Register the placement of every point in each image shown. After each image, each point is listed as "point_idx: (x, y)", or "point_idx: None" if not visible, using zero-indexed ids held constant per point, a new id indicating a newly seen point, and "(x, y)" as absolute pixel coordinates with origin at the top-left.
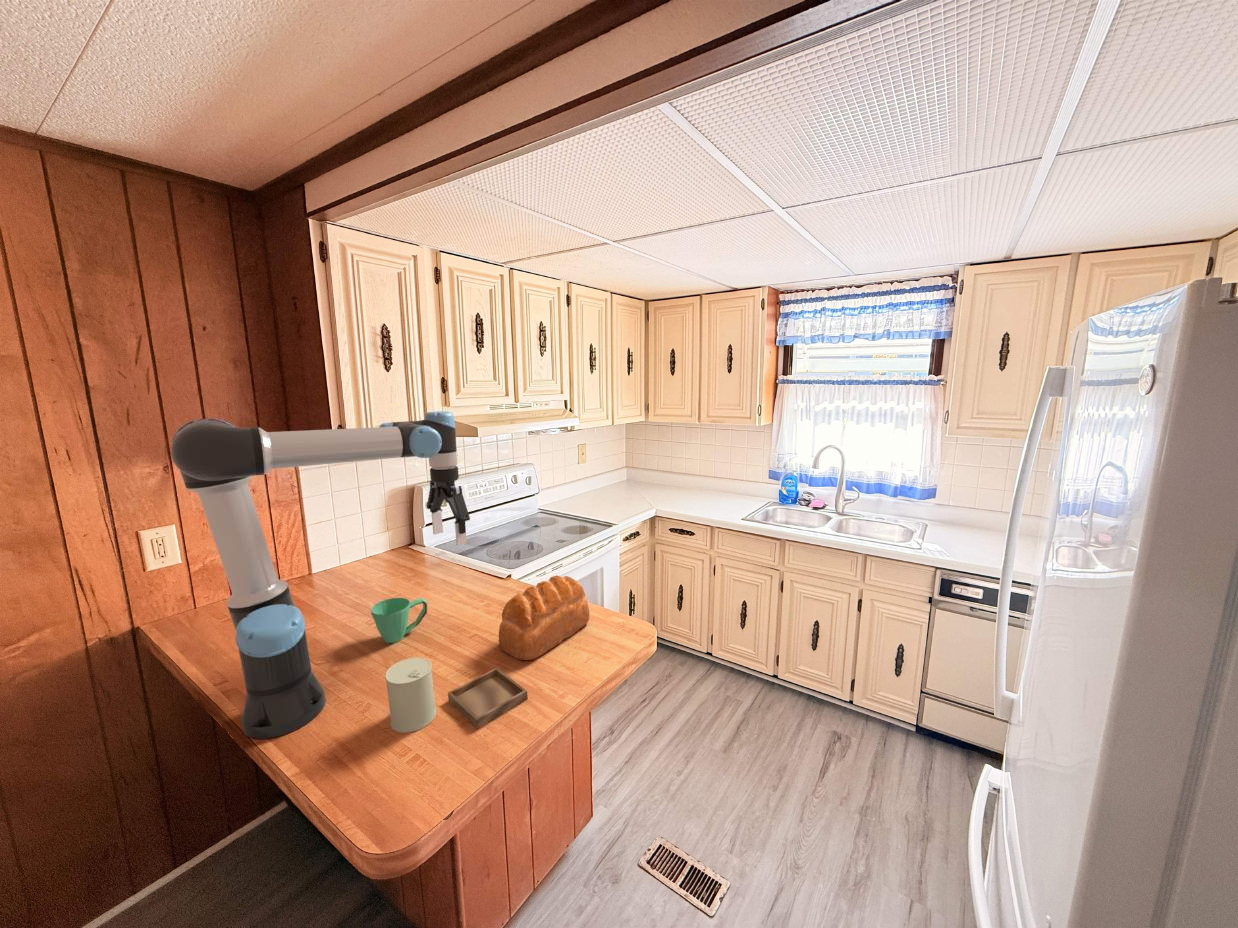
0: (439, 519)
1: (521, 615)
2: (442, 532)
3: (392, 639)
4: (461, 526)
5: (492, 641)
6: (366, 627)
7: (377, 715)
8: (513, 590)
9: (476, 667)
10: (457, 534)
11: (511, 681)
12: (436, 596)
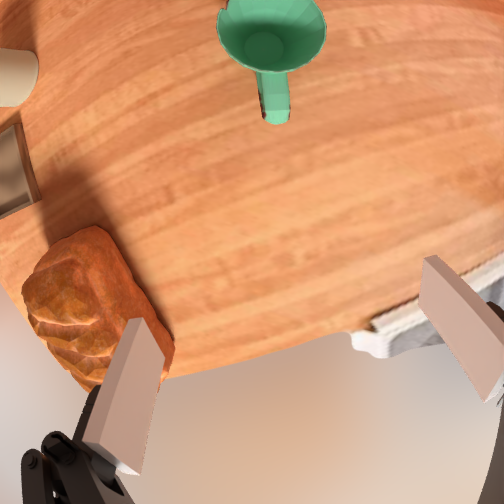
0: (463, 350)
1: (24, 289)
2: (418, 301)
3: (240, 39)
4: (80, 428)
5: (130, 221)
6: (352, 21)
7: (45, 30)
8: (310, 319)
9: (68, 174)
10: (110, 371)
11: (6, 212)
12: (400, 183)
